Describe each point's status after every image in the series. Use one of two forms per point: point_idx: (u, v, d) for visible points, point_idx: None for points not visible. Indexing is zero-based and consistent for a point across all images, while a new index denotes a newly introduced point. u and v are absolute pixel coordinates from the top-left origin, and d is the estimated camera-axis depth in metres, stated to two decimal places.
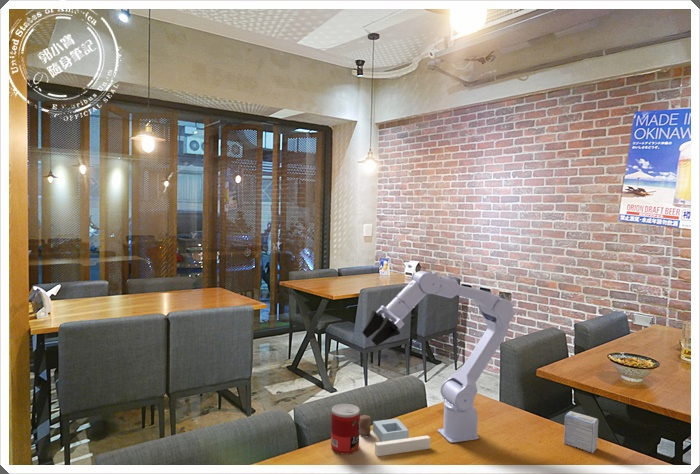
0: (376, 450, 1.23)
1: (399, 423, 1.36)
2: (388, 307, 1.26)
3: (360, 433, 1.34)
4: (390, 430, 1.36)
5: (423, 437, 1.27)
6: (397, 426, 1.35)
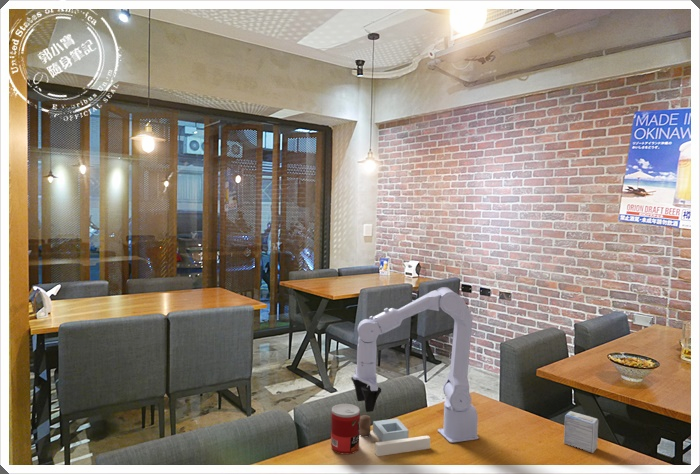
0: (376, 450, 1.23)
1: (399, 423, 1.36)
2: (358, 374, 1.32)
3: (360, 433, 1.34)
4: (390, 430, 1.36)
5: (423, 437, 1.27)
6: (397, 426, 1.35)
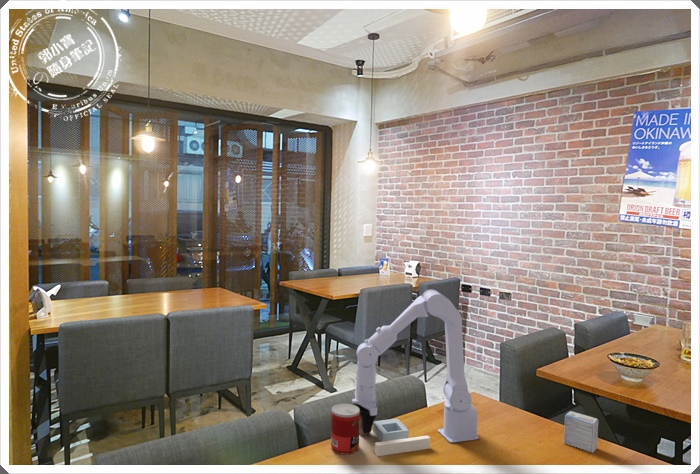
0: (376, 450, 1.23)
1: (399, 423, 1.36)
2: (357, 398, 1.33)
3: (360, 433, 1.34)
4: (390, 430, 1.36)
5: (423, 437, 1.27)
6: (397, 426, 1.35)
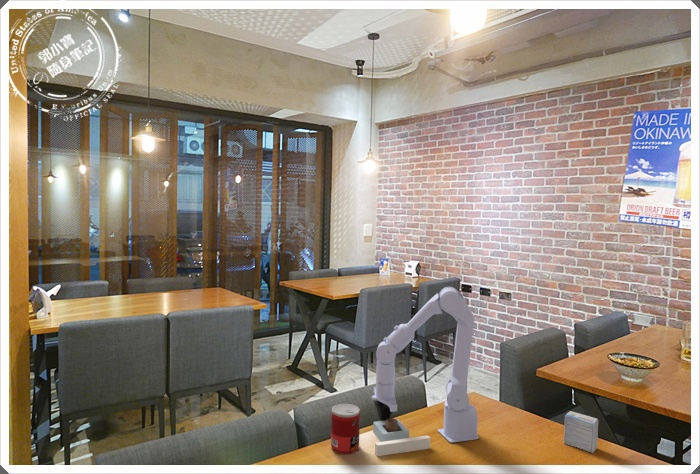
0: (376, 450, 1.23)
1: (399, 423, 1.35)
2: (377, 395, 1.37)
3: None
4: None
5: (423, 437, 1.27)
6: (397, 426, 1.35)
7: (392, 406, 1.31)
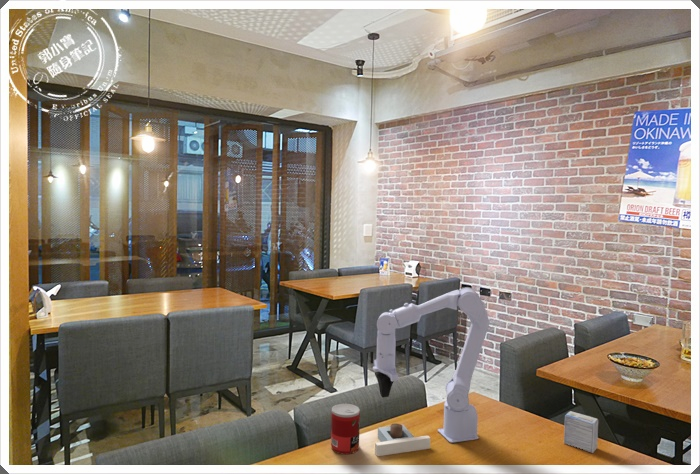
0: (376, 450, 1.23)
1: (405, 429, 1.32)
2: (378, 366, 1.37)
3: None
4: None
5: (423, 437, 1.27)
6: (403, 433, 1.31)
7: (393, 376, 1.31)
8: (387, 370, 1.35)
